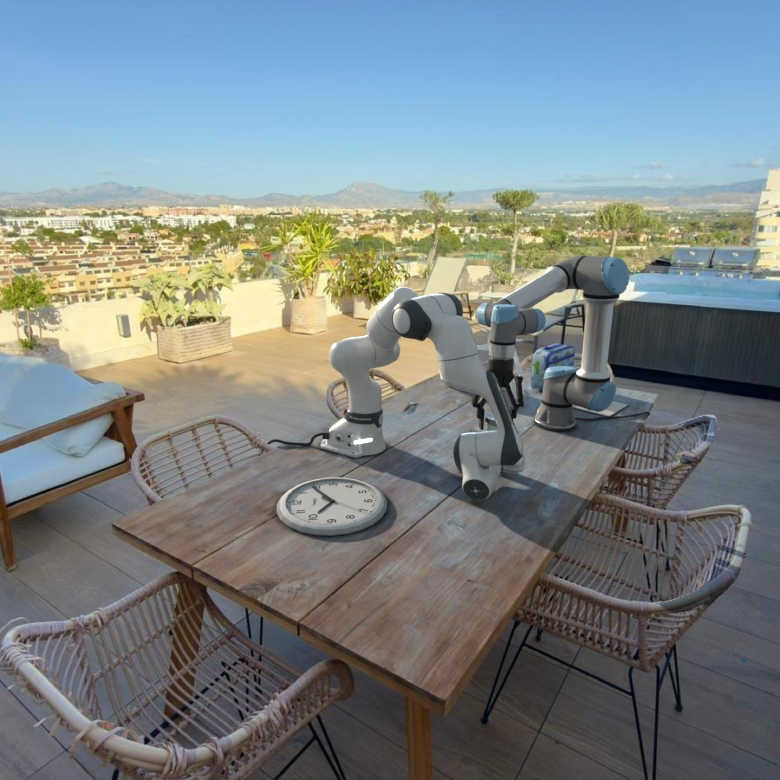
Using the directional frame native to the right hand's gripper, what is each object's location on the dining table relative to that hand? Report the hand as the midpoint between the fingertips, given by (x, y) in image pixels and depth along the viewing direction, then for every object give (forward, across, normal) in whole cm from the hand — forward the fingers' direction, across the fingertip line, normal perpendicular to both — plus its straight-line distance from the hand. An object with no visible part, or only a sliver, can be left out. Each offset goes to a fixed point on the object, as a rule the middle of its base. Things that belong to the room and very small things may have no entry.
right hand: (495, 428), depth 162 cm
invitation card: (+14, -62, -59) cm, 87 cm away
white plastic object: (+14, -14, -80) cm, 82 cm away
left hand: (+7, 0, -1) cm, 7 cm away
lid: (-3, 0, 0) cm, 3 cm away
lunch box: (+14, -50, -86) cm, 101 cm away
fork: (+14, +21, -60) cm, 65 cm away
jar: (+14, 0, 0) cm, 14 cm away
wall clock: (+14, +50, +22) cm, 56 cm away
